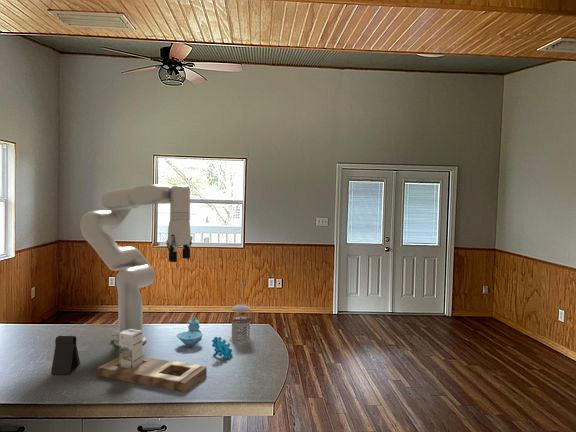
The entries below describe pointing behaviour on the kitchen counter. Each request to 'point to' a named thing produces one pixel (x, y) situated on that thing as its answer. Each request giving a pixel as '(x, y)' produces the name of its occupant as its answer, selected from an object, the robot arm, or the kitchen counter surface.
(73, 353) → the phone stand
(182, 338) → the light blue rounded piece
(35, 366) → the kitchen counter surface
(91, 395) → the kitchen counter surface
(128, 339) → the syrup box
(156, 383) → the tray
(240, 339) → the french press
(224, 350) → the gear
